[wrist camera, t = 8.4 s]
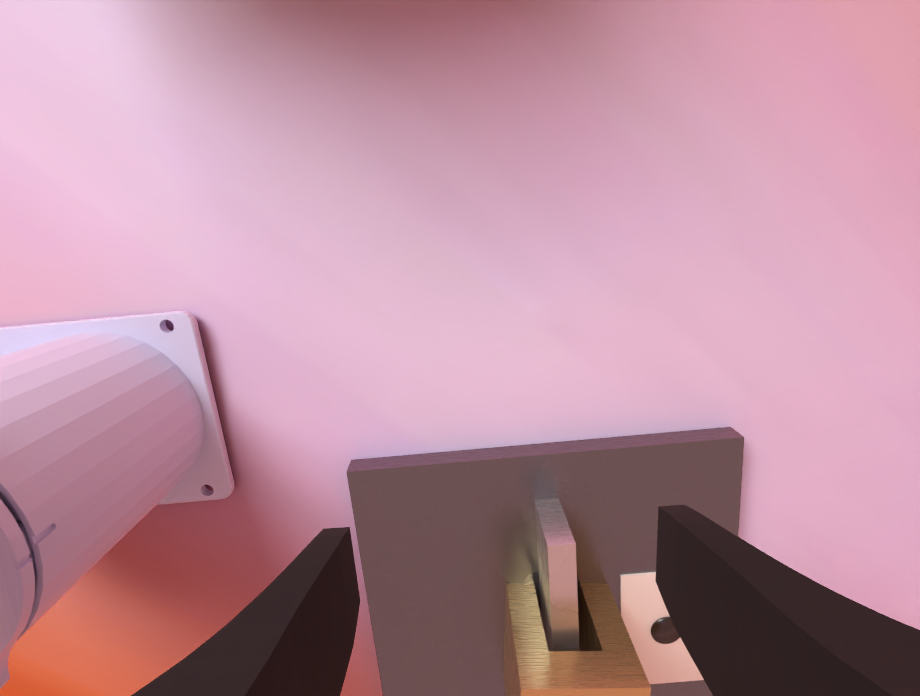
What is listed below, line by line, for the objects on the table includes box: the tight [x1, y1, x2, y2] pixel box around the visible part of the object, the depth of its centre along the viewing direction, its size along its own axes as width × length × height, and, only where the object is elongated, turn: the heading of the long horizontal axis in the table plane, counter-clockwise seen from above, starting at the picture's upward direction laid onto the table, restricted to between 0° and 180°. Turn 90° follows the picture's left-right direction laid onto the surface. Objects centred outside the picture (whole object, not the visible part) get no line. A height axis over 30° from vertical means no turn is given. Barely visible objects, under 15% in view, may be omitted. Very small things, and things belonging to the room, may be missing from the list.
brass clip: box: [503, 583, 651, 696], centre depth 20 cm, size 4×5×5 cm
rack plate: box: [347, 427, 744, 696], centre depth 22 cm, size 16×20×4 cm
